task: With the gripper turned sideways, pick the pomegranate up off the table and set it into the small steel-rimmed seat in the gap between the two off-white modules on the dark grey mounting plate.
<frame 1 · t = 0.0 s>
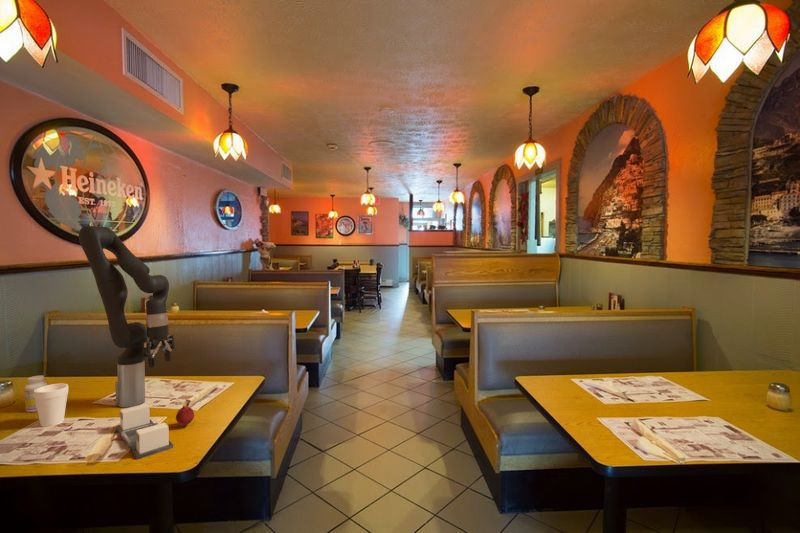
hand: (160, 364, 158), 17 cm above the table, tool pointing down, fingers open, 8 cm apart
mounted modules: (142, 426, 132), in the mounting plate, point 4 cm above the table
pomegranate: (185, 426, 141), on the table
supplement bottle: (36, 409, 154), on the table
mounting plate: (143, 438, 132), on the table
foam cup: (52, 423, 142), on the table
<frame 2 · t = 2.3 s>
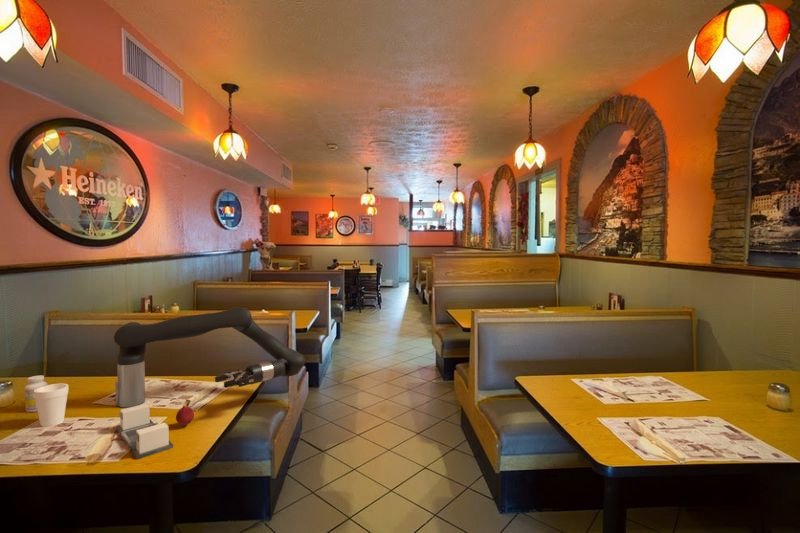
hand: (219, 382, 150), 13 cm above the table, tool horizontal, fingers open, 8 cm apart
nothing on the table moved.
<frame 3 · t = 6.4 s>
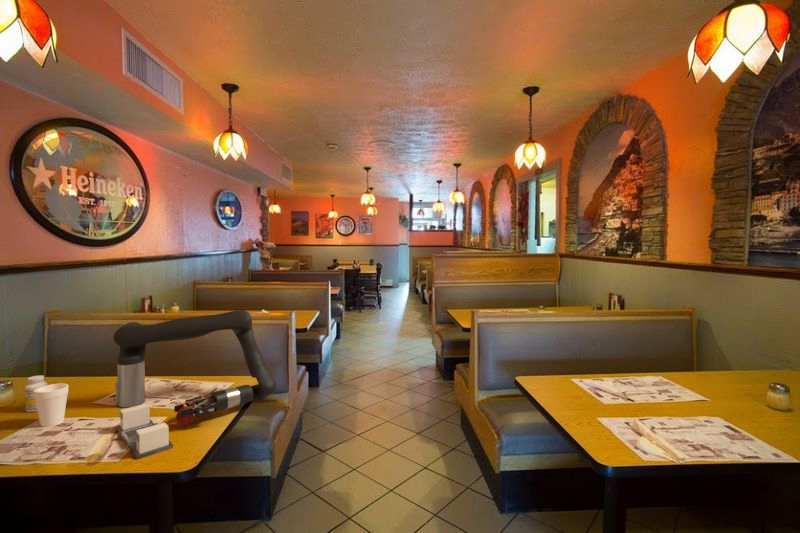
hand: (177, 411, 139), 6 cm above the table, tool horizontal, fingers closed on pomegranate, 5 cm apart
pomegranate: (185, 426, 141), on the table, touching gripper
everything else where it was.
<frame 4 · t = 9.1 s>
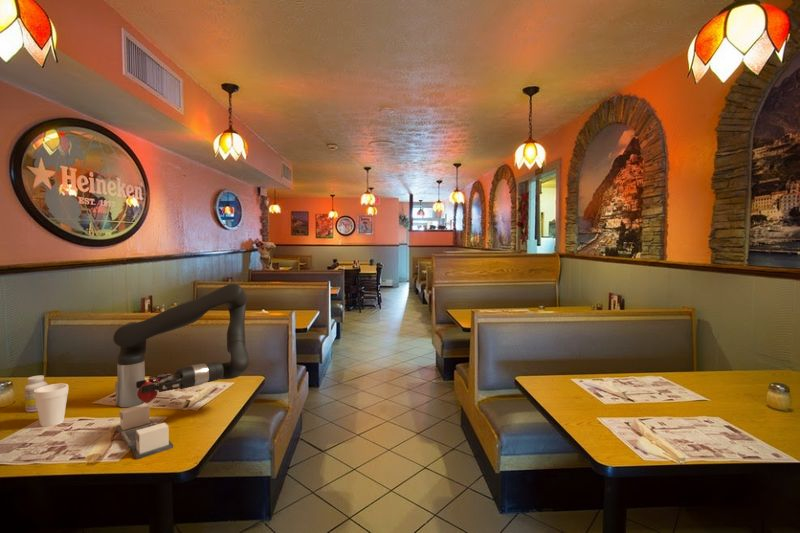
hand: (138, 387, 131), 18 cm above the table, tool horizontal, fingers closed on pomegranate, 5 cm apart
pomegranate: (147, 403, 133), point 11 cm above the table, touching gripper
everything else where it was.
when the fingers open (8 cm above the table, at t = 12.1 s): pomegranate drops 1 cm, resting on mounting plate.
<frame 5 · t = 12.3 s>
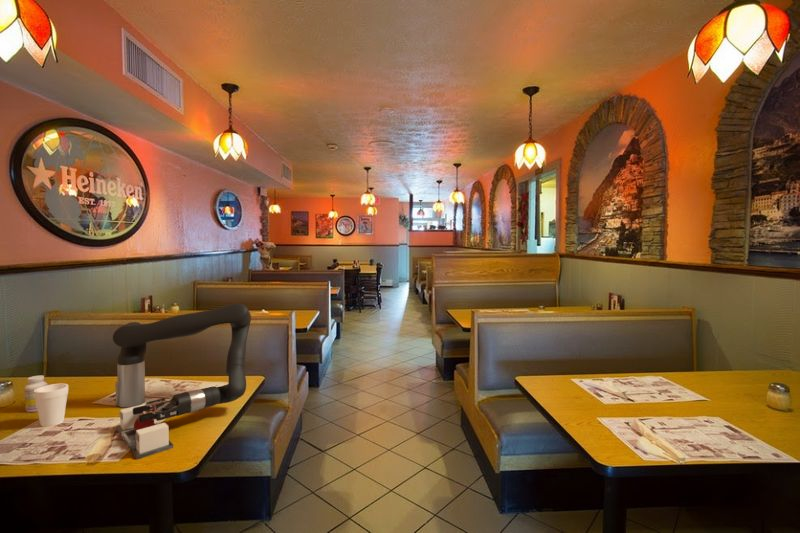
hand: (135, 415, 130), 8 cm above the table, tool horizontal, fingers open, 7 cm apart
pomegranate: (144, 435, 132), point 1 cm above the table, touching mounting plate
everything else where it was.
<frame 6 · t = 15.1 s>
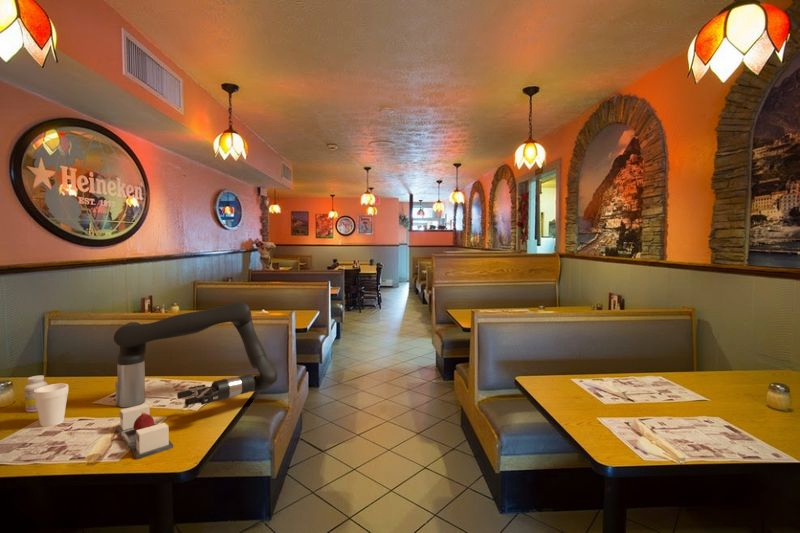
hand: (181, 399, 140), 10 cm above the table, tool horizontal, fingers open, 8 cm apart
nothing on the table moved.
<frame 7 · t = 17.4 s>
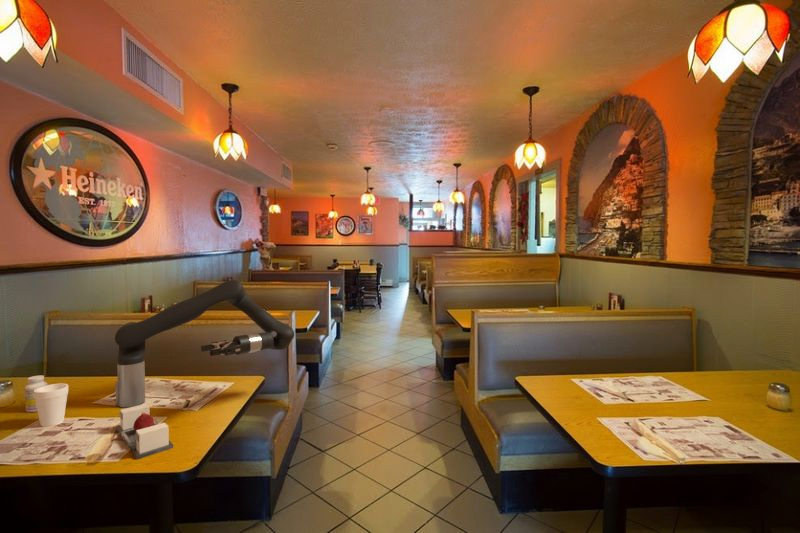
hand: (205, 350, 147), 26 cm above the table, tool horizontal, fingers open, 8 cm apart
nothing on the table moved.
at the end: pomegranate inside the target area on the mounting plate (0.2 cm from its centre), point 0.8 cm above the mounting plate's base; the gripper is holding nothing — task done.
